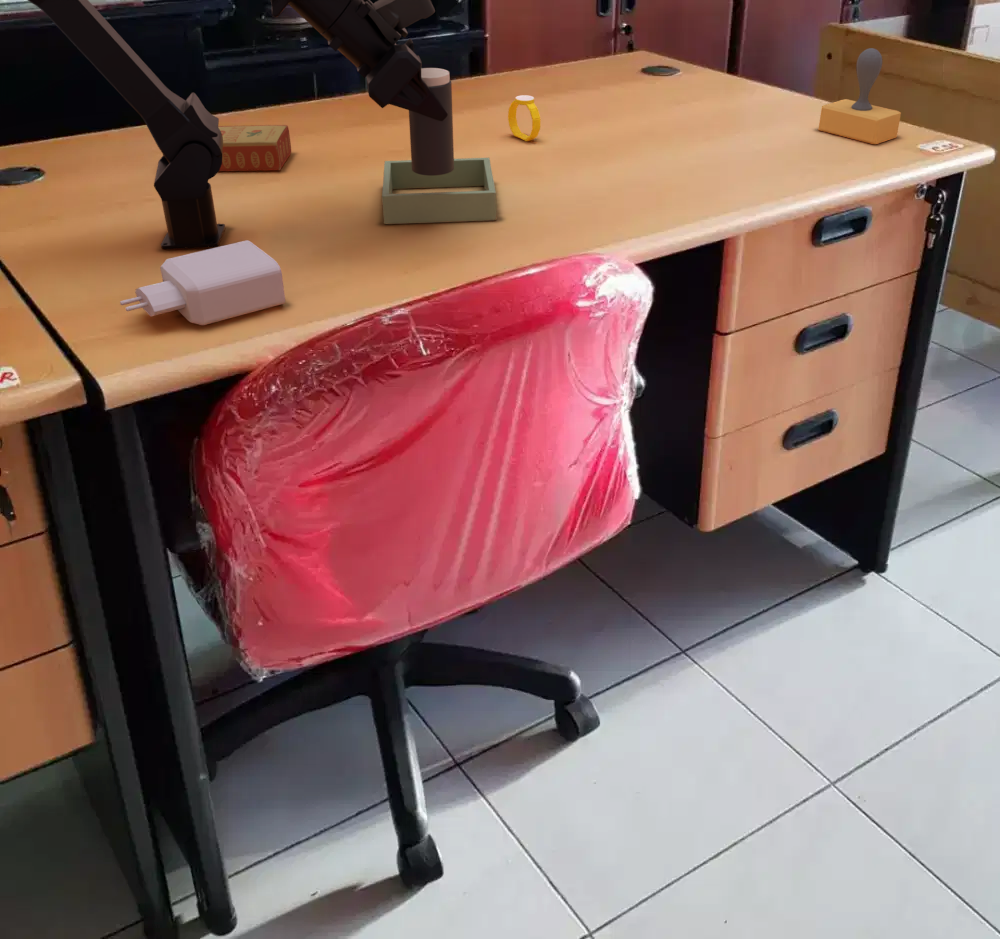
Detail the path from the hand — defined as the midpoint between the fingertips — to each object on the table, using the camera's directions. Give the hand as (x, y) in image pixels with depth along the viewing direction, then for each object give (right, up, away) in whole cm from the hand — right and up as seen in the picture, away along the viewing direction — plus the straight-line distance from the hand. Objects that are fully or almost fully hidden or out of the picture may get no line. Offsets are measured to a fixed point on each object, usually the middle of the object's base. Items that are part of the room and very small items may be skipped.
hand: (442, 111), depth 124 cm
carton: (-31, +2, +27) cm, 41 cm away
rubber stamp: (+59, +8, +35) cm, 69 cm away
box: (-1, -8, +12) cm, 14 cm away
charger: (-24, -25, -14) cm, 37 cm away
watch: (+10, +7, +35) cm, 37 cm away
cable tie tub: (-1, -6, +3) cm, 7 cm away
